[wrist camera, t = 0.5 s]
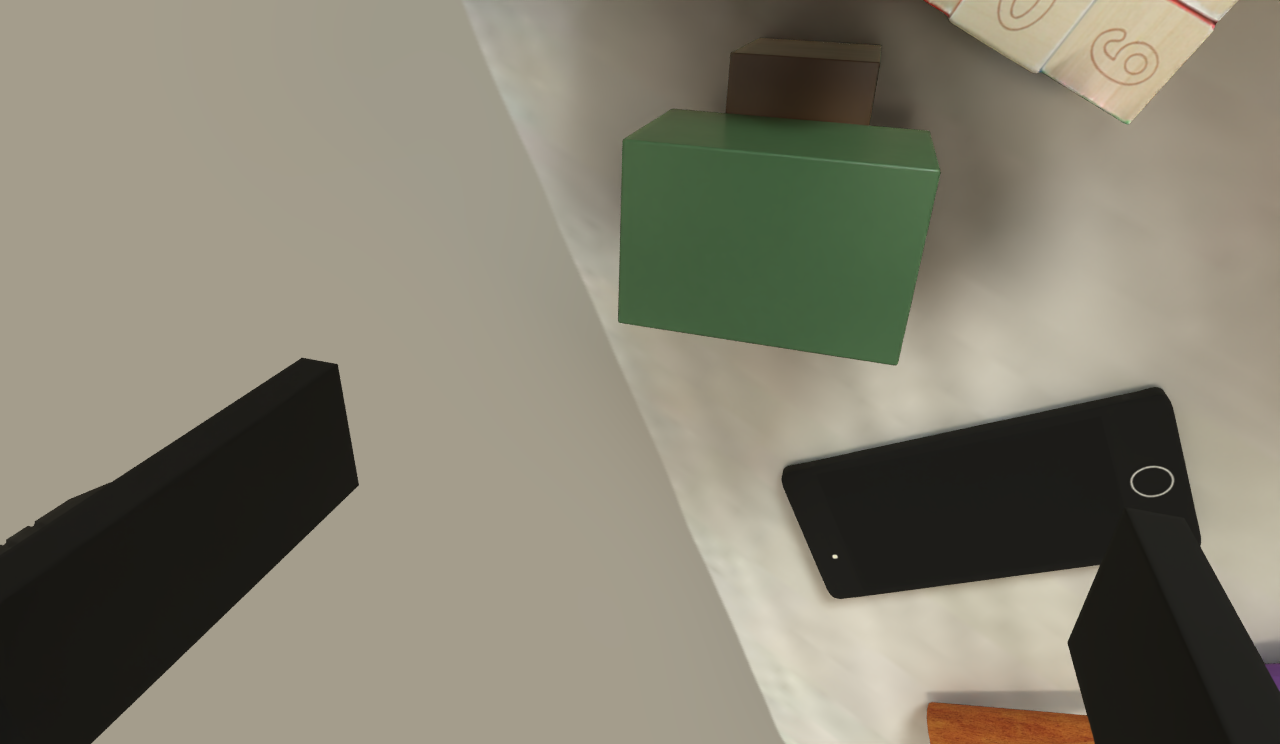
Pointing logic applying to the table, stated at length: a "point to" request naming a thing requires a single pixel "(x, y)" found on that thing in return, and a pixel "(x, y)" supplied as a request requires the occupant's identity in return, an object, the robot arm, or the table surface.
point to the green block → (775, 230)
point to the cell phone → (991, 496)
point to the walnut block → (804, 80)
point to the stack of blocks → (1094, 41)
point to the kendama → (1014, 724)
